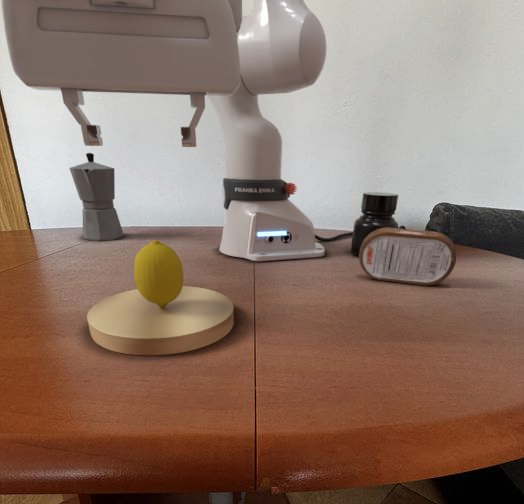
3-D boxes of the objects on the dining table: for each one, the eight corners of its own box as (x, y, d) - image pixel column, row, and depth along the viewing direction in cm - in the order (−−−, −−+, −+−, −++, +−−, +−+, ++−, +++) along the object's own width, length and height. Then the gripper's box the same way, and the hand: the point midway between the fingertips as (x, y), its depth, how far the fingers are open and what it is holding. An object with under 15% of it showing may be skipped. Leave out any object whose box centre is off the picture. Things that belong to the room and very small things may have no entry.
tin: (448, 284, 63) (461, 232, 59) (450, 290, 60) (464, 236, 56) (356, 274, 67) (363, 225, 63) (354, 279, 64) (361, 228, 60)
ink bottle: (393, 251, 83) (403, 192, 78) (396, 261, 76) (408, 197, 70) (348, 248, 85) (355, 191, 80) (347, 257, 78) (355, 194, 72)
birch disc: (228, 297, 55) (227, 283, 54) (240, 350, 40) (240, 333, 39) (106, 301, 53) (103, 287, 52) (72, 360, 38) (67, 342, 37)
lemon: (143, 299, 48) (135, 235, 44) (188, 299, 48) (183, 235, 44) (134, 316, 43) (123, 245, 39) (183, 315, 43) (177, 245, 40)
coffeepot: (121, 242, 86) (107, 153, 78) (76, 243, 84) (58, 152, 76) (128, 230, 99) (117, 153, 91) (90, 230, 98) (75, 152, 89)
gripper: (237, -16, 36) (240, 147, 43) (6, -34, 33) (47, 145, 40) (246, -44, 31) (247, 148, 37) (-30, -69, 28) (24, 145, 34)
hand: (142, 146), depth 39 cm, fingers open, 8 cm apart
